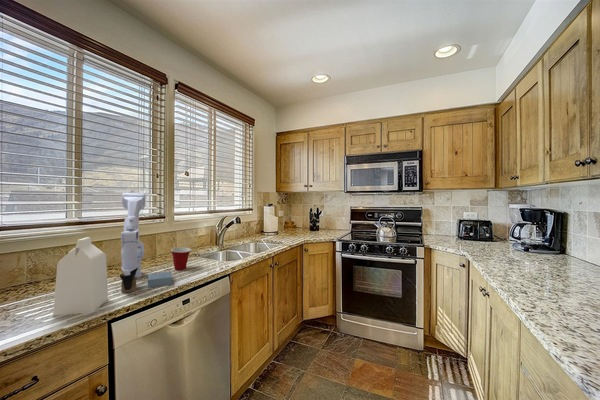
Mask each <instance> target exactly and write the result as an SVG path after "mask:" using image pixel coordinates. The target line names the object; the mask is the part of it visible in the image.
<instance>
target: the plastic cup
mask: <svg viewBox="0 0 600 400" xmlns="http://www.w3.org/2000/svg"><path fill="white" fill-rule="evenodd" d="M170 251H171V254H172V261H173V268H174V271H184V270H186V268H187V263H188V261H189V255H190V253H191V251H192V249H191V248H190V247H183V246H182V247H181V246H180V247H178V246H177V247H173V248H171V249H170Z"/></svg>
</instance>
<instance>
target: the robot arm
mask: <svg viewBox="0 0 600 400" xmlns="http://www.w3.org/2000/svg"><path fill="white" fill-rule="evenodd" d="M121 203H122V207H123V208H124V209H125V210H127V216H126V218H125V219H124V221H123V222H124V223H123V228H122V229H123V230H122V231H121V235H120V242H121V251H120V258H121V267H120V270H122V272H123V273H120V274H119V278H120V280H121V282H122V281H123V285H124V289H125V290H131V287H132V282H133V278H134V277H137V279H138V278H139V279H140V278H141V277H142V275H143V271H142V259H143V258H145V244H144V242H142V241H140V230H139V228H140V227H139V226H140V224H139V223H140V212H141V210H143V209H145V207H146V193H144V192H143V193H141V192H123V193H122V195H121Z"/></svg>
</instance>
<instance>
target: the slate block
mask: <svg viewBox="0 0 600 400" xmlns="http://www.w3.org/2000/svg"><path fill="white" fill-rule="evenodd" d="M170 285H173V274H172V271H162V272H154V273H148V276H147V289H150V288H155V287H164V286H170Z"/></svg>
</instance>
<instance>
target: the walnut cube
mask: <svg viewBox="0 0 600 400" xmlns="http://www.w3.org/2000/svg"><path fill="white" fill-rule="evenodd" d="M137 279H138V278H137V277H134V278H133V282H132V287H131V290H125V289H124V285H123V281H122V280H121V289H120V290H121V292H120V293H121V294H123V293H130V292H135V291H136V288H137Z"/></svg>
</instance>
